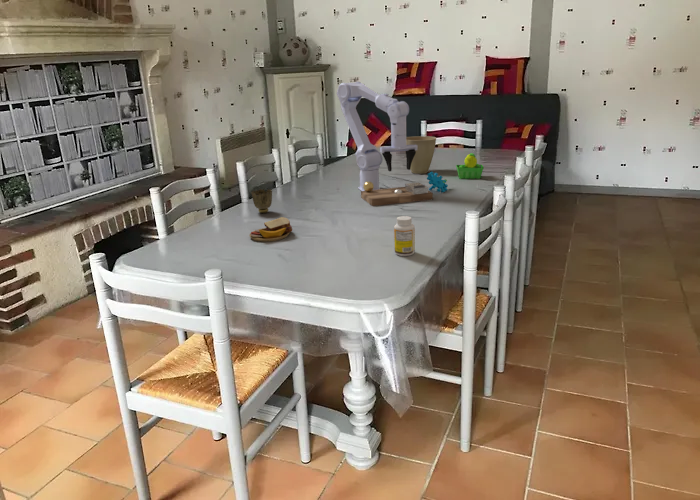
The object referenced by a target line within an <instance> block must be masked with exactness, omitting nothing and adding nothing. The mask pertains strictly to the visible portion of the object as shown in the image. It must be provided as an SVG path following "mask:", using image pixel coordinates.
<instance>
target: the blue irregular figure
mask: <svg viewBox="0 0 700 500" xmlns="http://www.w3.org/2000/svg"><path fill="white" fill-rule="evenodd" d="M426 174H427V177H426V179H427V181H428V184H429V185H431V186H430V187H428V191H430V192H432V190H435V189H436V188H437V189H436V191H437V192H438V193H440V192H441V193H443V192H444V193H445V192H447V191H448V186H449V185H448V184H447V182H448V180H447V179H443V176H442V175H439V173H438V172H434V171H430V172H429V173H428V172H427V173H426ZM438 175H439V176H438Z"/></svg>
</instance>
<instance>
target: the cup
mask: <svg viewBox="0 0 700 500" xmlns="http://www.w3.org/2000/svg"><path fill="white" fill-rule="evenodd" d="M251 197H252V201H253V205H254V207H255V208H256V209H258V210H257V211H258V213H259V214H267V213H269V212H270V211H269V208H270V207H272V202H273V190H272V189H267V190H265V188H263V189H262V188H259V189H255V190H252V191H251Z"/></svg>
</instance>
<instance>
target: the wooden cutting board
mask: <svg viewBox="0 0 700 500" xmlns="http://www.w3.org/2000/svg"><path fill="white" fill-rule="evenodd" d="M397 189H400V190H401V191H402V192H403V193H398V194H395V193H394V191H395V190H397ZM433 196H434V194H433V192H432V191H430V190H428V193H423V194H412V193H411V192H409V191H407V190H405V186H398V187H389V188H381V189H378V190H372V191H370V192H367V191H361V190H360V198H361V199H363V200H364V201H365V202H366V203H367V204H369V205H370V206H372V207H374V206H383V205H392V204H402V203H412V202H421V201H422V202H423V201H430V200H431V199H432V200H433V198H434V197H433Z"/></svg>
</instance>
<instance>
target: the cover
mask: <svg viewBox="0 0 700 500" xmlns="http://www.w3.org/2000/svg"><path fill="white" fill-rule="evenodd" d="M404 187H405V190H407V191H409V192H411V193H412V194H423V193H428V191H429V187H428V186H426V185H425V184H422V183H421V182H418V181H417V182H409V183H405V184H404Z"/></svg>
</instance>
